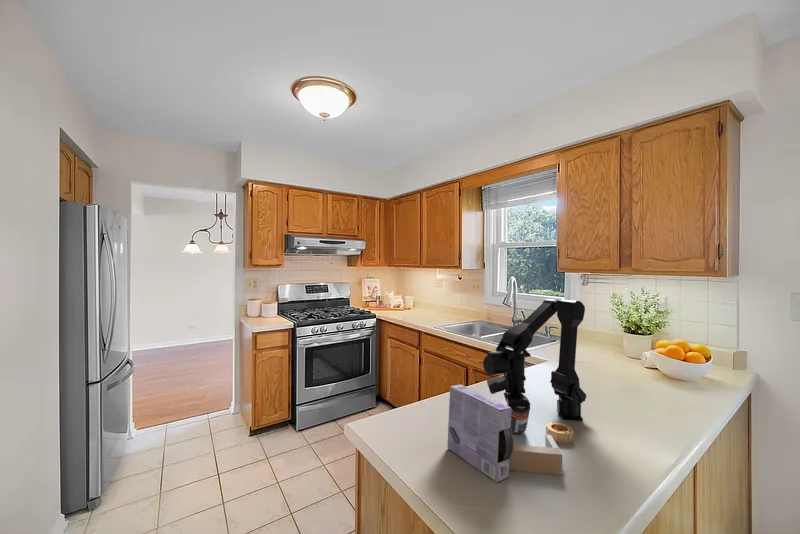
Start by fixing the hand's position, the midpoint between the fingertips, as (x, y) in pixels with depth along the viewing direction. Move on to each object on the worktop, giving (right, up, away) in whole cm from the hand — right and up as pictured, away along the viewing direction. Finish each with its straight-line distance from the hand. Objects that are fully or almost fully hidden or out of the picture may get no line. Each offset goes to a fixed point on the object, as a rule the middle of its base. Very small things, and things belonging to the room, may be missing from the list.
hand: (513, 418), depth 108 cm
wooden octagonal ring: (+11, -3, -7) cm, 13 cm away
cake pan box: (-16, -3, -20) cm, 26 cm away
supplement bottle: (0, -1, -3) cm, 3 cm away
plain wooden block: (-2, -3, -17) cm, 18 cm away
